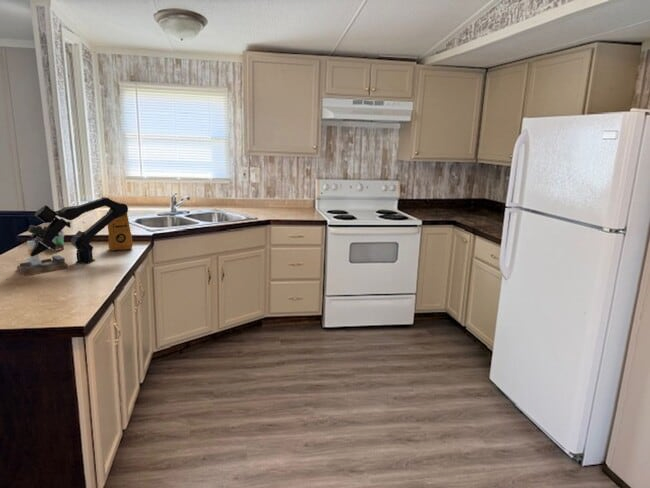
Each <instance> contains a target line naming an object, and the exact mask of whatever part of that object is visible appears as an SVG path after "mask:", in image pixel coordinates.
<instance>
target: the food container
mask: <svg viewBox="0 0 650 488" xmlns="http://www.w3.org/2000/svg"><path fill="white" fill-rule="evenodd" d="M58 235H59V236H58V237H57V236H56V237H55V238H54V239H53V240H52V241H53V243H55V244H56V247H55V249H54V250H53V249H51V250H52V251H54V252H56V253H57V252H61V251H64V249H65V245H64V243H65V242H64V241H65V240H64V237H65V232H64V231H63V230H62V231H61V232H60V233H59V234H58Z"/></svg>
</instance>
